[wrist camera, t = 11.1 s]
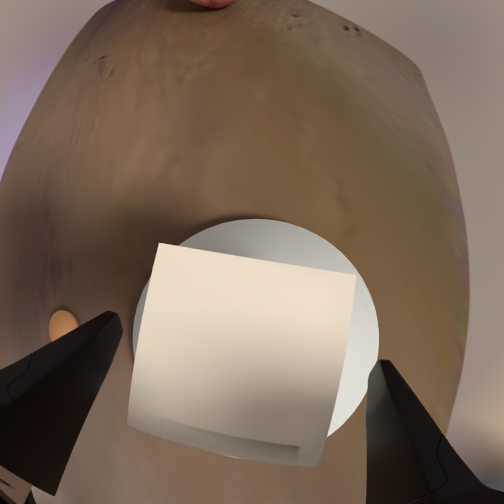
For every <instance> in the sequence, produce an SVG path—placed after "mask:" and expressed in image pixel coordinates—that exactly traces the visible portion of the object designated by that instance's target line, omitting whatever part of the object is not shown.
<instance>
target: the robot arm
mask: <svg viewBox="0 0 504 504" xmlns="http://www.w3.org/2000/svg"><path fill="white" fill-rule="evenodd" d="M122 334H123V328H122V325H121V321H120V318H119V315H118V314H117V313H115V312H112V311H106V312H104V313H102V314H101V315H99V316H97V317H95V318H93V319H92V320H90V321H88V322H86V323H84V324H83V325H81V326H79V327H77V328H75V329H74V330H72V331H70V332H68V333H67V334H65V335H63V336H61V337H59V338H58V339H56V340H54V341H52V342H51V343H49V344H47V345H45V346H44V347H42V348H40V349H38V350H37V351H35V352H33V354H32V353H31V354H30V355H28V356H26V357H24V358H23V359H21V360H19V361H17V362H15V363H13V364H11V365H9V366H7V367H5V368H3V369H1V370H0V504H36V503H35V500H34V497H33V494H32V491H31V487H32V485H33V486H35V487H37V488H39V489H41V490H42V491H44V492H46V493H48V494H50V495H52V496H55V494H56V492H57V489H58V486H59V484H60V481H61V478H62V476H63V473H64V470H65V468H66V465H67V463H68V460H69V458H70V455H71V452H72V450H73V447H74V445H75V443H76V440H77V438H78V436H79V433H80V431H81V429H82V426H83V424H84V422H85V420H86V417H87V415H88V413H89V411H90V409H91V406H92V404H93V402H94V400H95V398H96V396H97V394H98V392H99V389H100V387H101V385H102V383H103V381H104V379H105V377H106V375H107V373H108V371H109V369H110V366H111V364H112V361H113V358H114V356H115V353H116V350H117V348H118V345H119V342H120V340H121V337H122ZM441 433H442V432H441V430H440V429H439V427H438V426H437V425H436V423H435V422H434V420H433V419H432V417H431V416H430V415H429V413H428V412H427V410H426V409H425V408H424V406H423V405H422V403H421V402H420V401H419V399H418V398H417V396H416V395H415V394H414V392H413V391H412V390H411V388H410V387H409V385H408V384H407V383H406V381H405V380H404V379H403V377H402V376H401V375H400V373H399V372H398V371H397V369H396V368H395V367H394V365H393V364H392V363H391V361H389V360H382V359H380V360H378V361H377V362H376V363H375V365H374V367H373V368H372V370H371V372H370V373H369V376H368V388H367V407H366V438H367V488H366V504H504V492H502V491H498V490H495V489H492V488H489V487H487V486H485V485H484V484H483V483H481V482H480V480H479V479H478V478H477V477H476V476H475V475H474V474H473V473H472V471H471V470H470V469H469V468H468V466H467V465H466V464H465V463H464V462H463V460H462V459H461V458H460V457H459V455H458V454H457V453H456V452H455V450H454V449H453V447H452V446H451V445H450V443H449V442H448V440H447V439H446V437H445V436H444V435H443V434H441Z"/></svg>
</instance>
